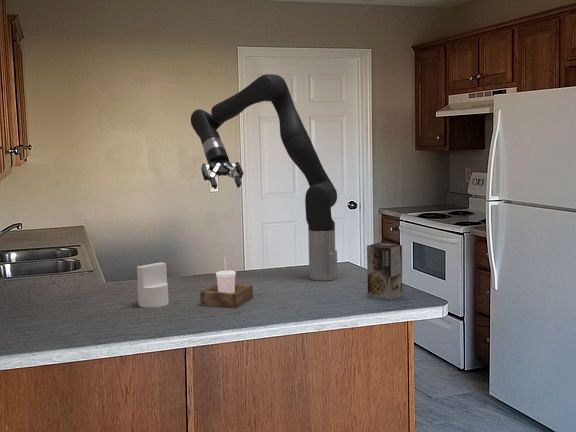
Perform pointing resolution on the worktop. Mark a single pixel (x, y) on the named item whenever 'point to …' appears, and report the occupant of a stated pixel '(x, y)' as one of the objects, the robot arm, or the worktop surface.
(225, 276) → the beverage cup
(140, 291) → the cylinder with rectangular tab
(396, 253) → the coffee box
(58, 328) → the worktop surface
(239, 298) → the walnut collar
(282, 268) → the worktop surface
